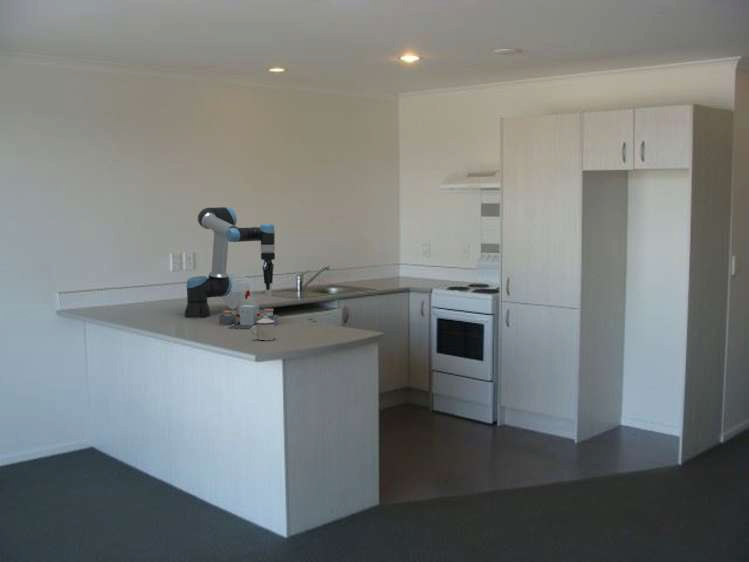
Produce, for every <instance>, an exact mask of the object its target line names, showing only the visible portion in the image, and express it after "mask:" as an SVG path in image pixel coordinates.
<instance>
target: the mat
mask: <svg viewBox="0 0 749 562" xmlns="http://www.w3.org/2000/svg"><path fill="white" fill-rule="evenodd" d="M253 326H255V325H240V324H239V325H230V326H229V327H228V328H235V329H234V330H251V329H250V328H252V327H253ZM239 328H240V329H239Z"/></svg>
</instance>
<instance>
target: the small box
mask: <svg viewBox="0 0 749 562" xmlns="http://www.w3.org/2000/svg"><path fill="white" fill-rule="evenodd" d="M239 321H240V324H239V325H254V323H256V322H257V321H258V317H257V306H256V305H242V306H240V317H239Z"/></svg>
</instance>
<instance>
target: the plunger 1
mask: <svg viewBox="0 0 749 562" xmlns="http://www.w3.org/2000/svg"><path fill="white" fill-rule="evenodd" d="M222 314H224V316H231V314H233V310H223V311H222Z"/></svg>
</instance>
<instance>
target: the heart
mask: <svg viewBox="0 0 749 562" xmlns="http://www.w3.org/2000/svg"><path fill="white" fill-rule="evenodd" d="M226 273H227V274H228V277H229V278H230V279H231V282H232V287H231V291H230V293H229V294H228V295H226V296H222V297H221V298H222V300H223V301H224V303H226V305H227V307H228V308H229V309H230V310H235V309H237V305H238V304H239V302H240V301H241V300H242V299H243V298H244V297H245V295H246V291H249V292H250V287H251V285H250V284H251V283H250V281H249V279H248V277H246V276H245V275H243V274H233V273H228V272H226Z"/></svg>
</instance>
